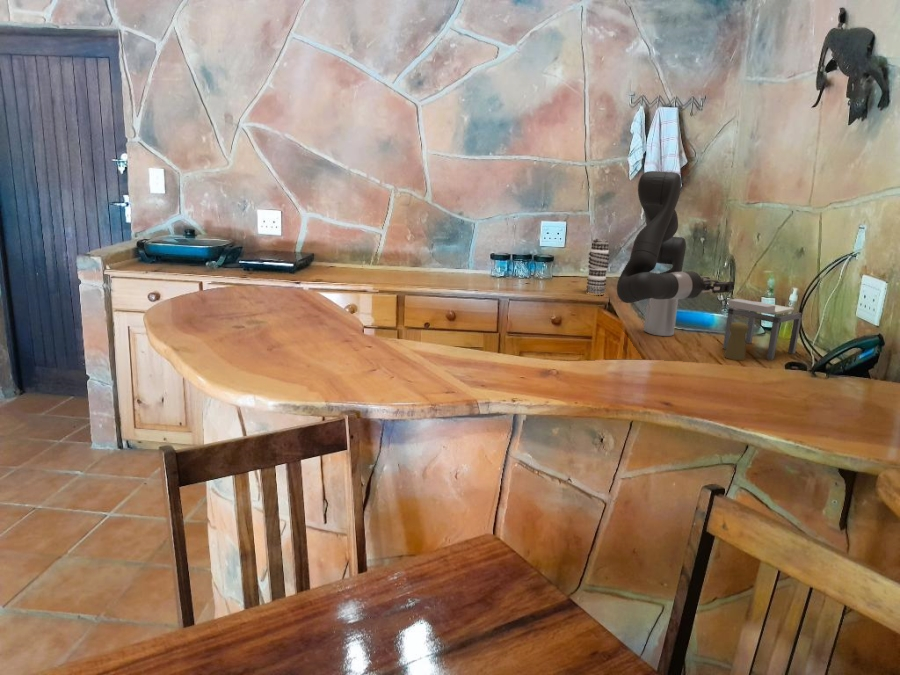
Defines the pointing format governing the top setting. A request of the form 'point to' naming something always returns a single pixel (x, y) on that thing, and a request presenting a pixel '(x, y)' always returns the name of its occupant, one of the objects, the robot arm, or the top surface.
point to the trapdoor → (759, 306)
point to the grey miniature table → (774, 331)
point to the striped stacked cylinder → (598, 266)
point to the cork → (736, 341)
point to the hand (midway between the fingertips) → (720, 283)
